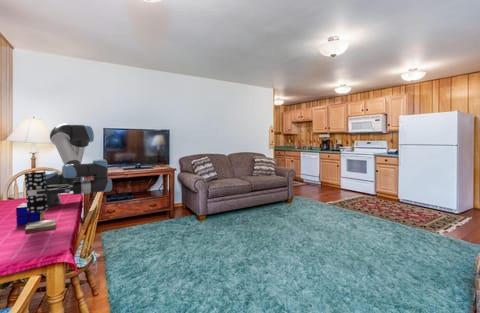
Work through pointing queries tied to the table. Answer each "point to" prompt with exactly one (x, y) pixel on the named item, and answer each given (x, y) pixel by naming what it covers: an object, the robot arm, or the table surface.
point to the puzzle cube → (27, 215)
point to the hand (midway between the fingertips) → (29, 191)
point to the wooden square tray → (40, 225)
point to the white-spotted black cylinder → (36, 183)
